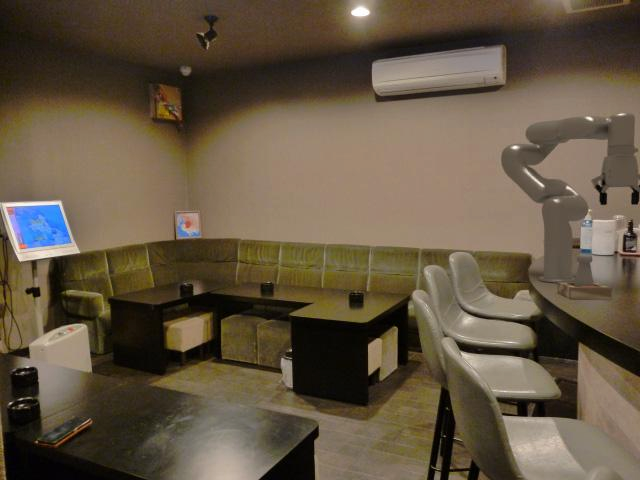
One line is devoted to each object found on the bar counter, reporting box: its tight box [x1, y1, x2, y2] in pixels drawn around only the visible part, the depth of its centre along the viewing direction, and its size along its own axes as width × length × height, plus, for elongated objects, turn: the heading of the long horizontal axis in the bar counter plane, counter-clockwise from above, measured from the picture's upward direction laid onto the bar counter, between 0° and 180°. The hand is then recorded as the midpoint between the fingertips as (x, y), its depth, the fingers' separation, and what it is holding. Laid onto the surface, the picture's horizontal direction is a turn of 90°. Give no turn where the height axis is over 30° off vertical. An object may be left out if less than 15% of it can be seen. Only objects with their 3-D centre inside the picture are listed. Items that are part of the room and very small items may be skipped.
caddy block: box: [557, 281, 613, 301], centre depth 158 cm, size 12×11×4 cm
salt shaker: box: [574, 253, 595, 287], centre depth 158 cm, size 6×6×13 cm
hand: (619, 204), depth 166 cm, fingers open, 9 cm apart
